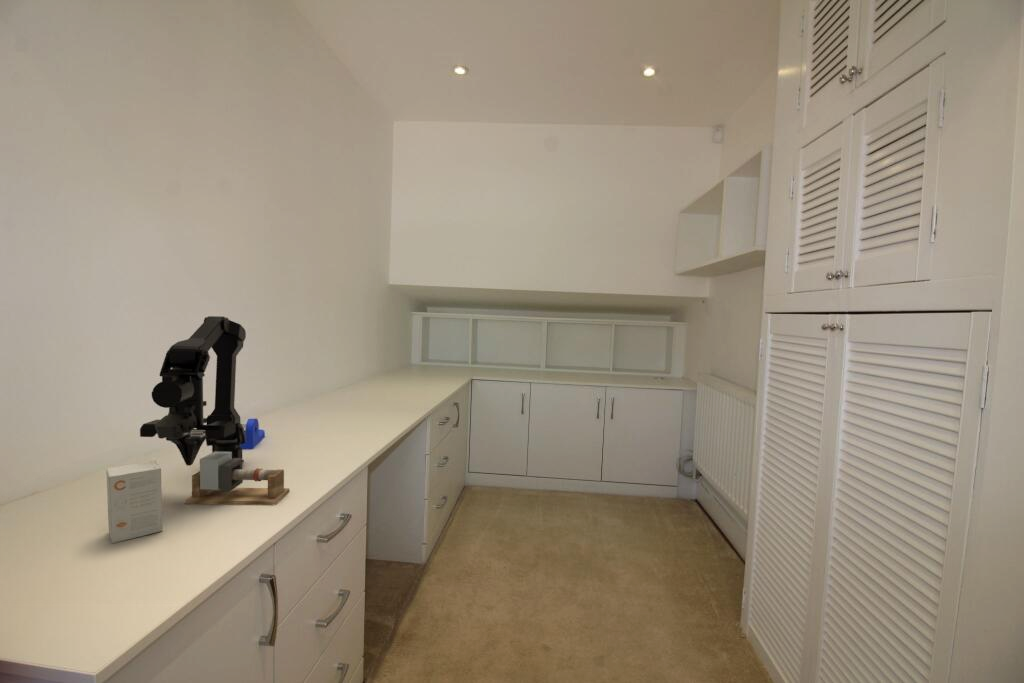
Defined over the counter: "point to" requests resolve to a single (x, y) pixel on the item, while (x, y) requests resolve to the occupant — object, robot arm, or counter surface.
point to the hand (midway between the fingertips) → (189, 465)
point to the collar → (229, 475)
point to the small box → (134, 500)
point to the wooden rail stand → (242, 489)
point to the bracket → (252, 434)
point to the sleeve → (212, 469)
